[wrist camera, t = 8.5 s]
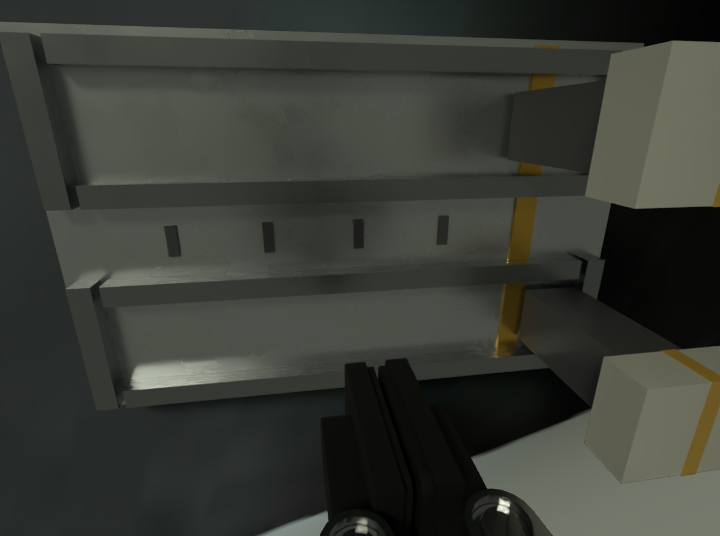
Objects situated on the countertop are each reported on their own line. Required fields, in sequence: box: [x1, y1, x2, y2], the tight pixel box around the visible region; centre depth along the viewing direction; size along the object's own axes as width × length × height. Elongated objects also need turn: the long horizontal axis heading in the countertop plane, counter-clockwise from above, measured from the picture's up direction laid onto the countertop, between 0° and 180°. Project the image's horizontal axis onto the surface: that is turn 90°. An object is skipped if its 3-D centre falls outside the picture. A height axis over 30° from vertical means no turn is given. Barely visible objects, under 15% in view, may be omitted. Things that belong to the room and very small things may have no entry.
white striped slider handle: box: [507, 41, 720, 209], centre depth 12 cm, size 3×4×8 cm
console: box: [0, 22, 644, 411], centre depth 17 cm, size 14×22×3 cm, turn 90°
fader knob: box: [518, 287, 720, 484], centre depth 15 cm, size 3×4×8 cm
